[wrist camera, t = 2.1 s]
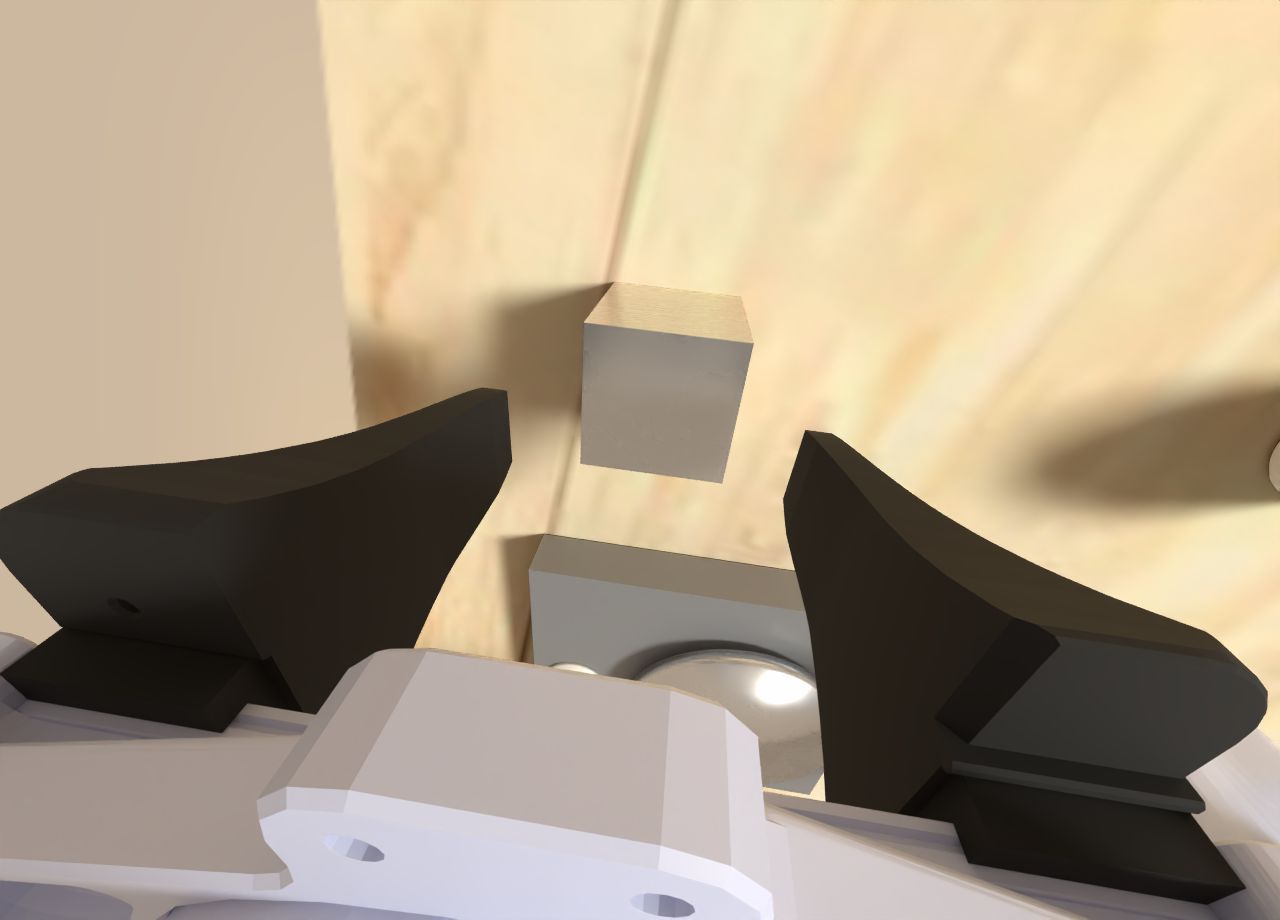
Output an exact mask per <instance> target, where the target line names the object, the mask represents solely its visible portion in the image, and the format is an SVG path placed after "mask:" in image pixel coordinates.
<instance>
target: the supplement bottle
mask: <svg viewBox="0 0 1280 920" xmlns="http://www.w3.org/2000/svg"><path fill="white" fill-rule="evenodd" d="M1269 479H1270V481H1271V482H1272V484H1273V485H1274V487H1275V488H1276V489H1277V490H1278V491H1279V492H1280V442H1279V443H1278V445H1277V446H1276V448H1275V449H1274V451H1273V453H1272V456H1271V458H1270V463H1269Z"/></svg>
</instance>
